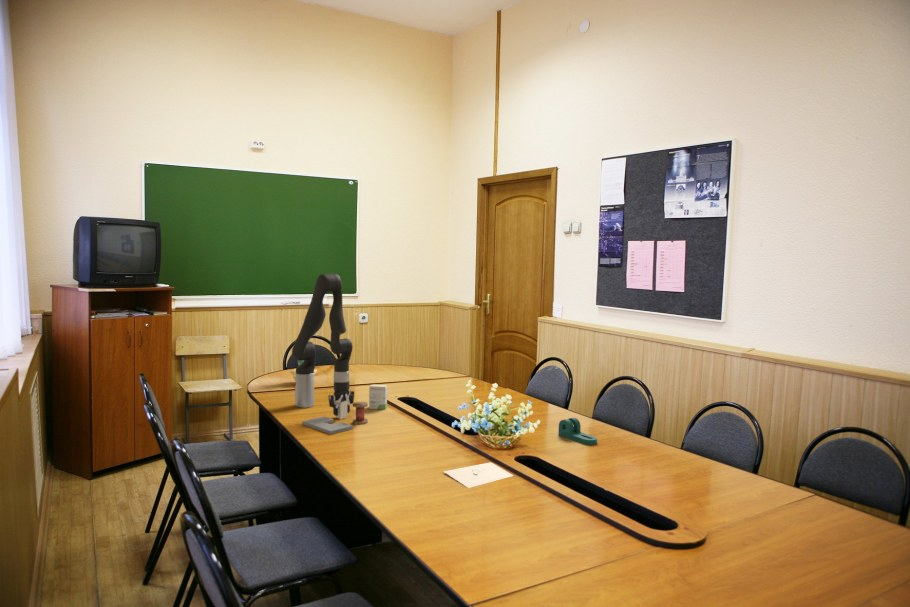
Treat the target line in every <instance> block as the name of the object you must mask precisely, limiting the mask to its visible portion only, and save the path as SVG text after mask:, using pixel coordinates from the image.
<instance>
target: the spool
mask: <svg viewBox="0 0 910 607" xmlns="http://www.w3.org/2000/svg"><path fill="white" fill-rule="evenodd" d="M352 407H353V408H355V418H354V419H352V424H353V425H365V424H368V422H369V421H368V418H365V408H367V407H369V403H368V402H367V401H356V402H355V401H354V402H353V403H352Z"/></svg>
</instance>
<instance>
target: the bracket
mask: <svg viewBox="0 0 910 607" xmlns="http://www.w3.org/2000/svg"><path fill="white" fill-rule="evenodd" d="M581 430H582V428H581V422H580V420H579V419H578V418H576V417H569V418H565V419H561V420H560V421H559V423H558V436H560V437H563V438H566V439H569V440H572V441H575V442H577V443H580V444H583V445H588V446H591V445H592V446H593V445H597V443H598V438H597V436H595V435H592V434H591V435H590V434H588V433H585V432H582V431H581Z"/></svg>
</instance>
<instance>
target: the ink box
mask: <svg viewBox="0 0 910 607" xmlns="http://www.w3.org/2000/svg"><path fill="white" fill-rule="evenodd" d="M368 390H369V391H368V392H369V393H368V394H369V395H368V396H369V397H368V398H369V399H368V402H369V403H368V409H369V410H386V409H387V408H388V385H387V384H384V385H383V384H371V385H369V389H368Z"/></svg>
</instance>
